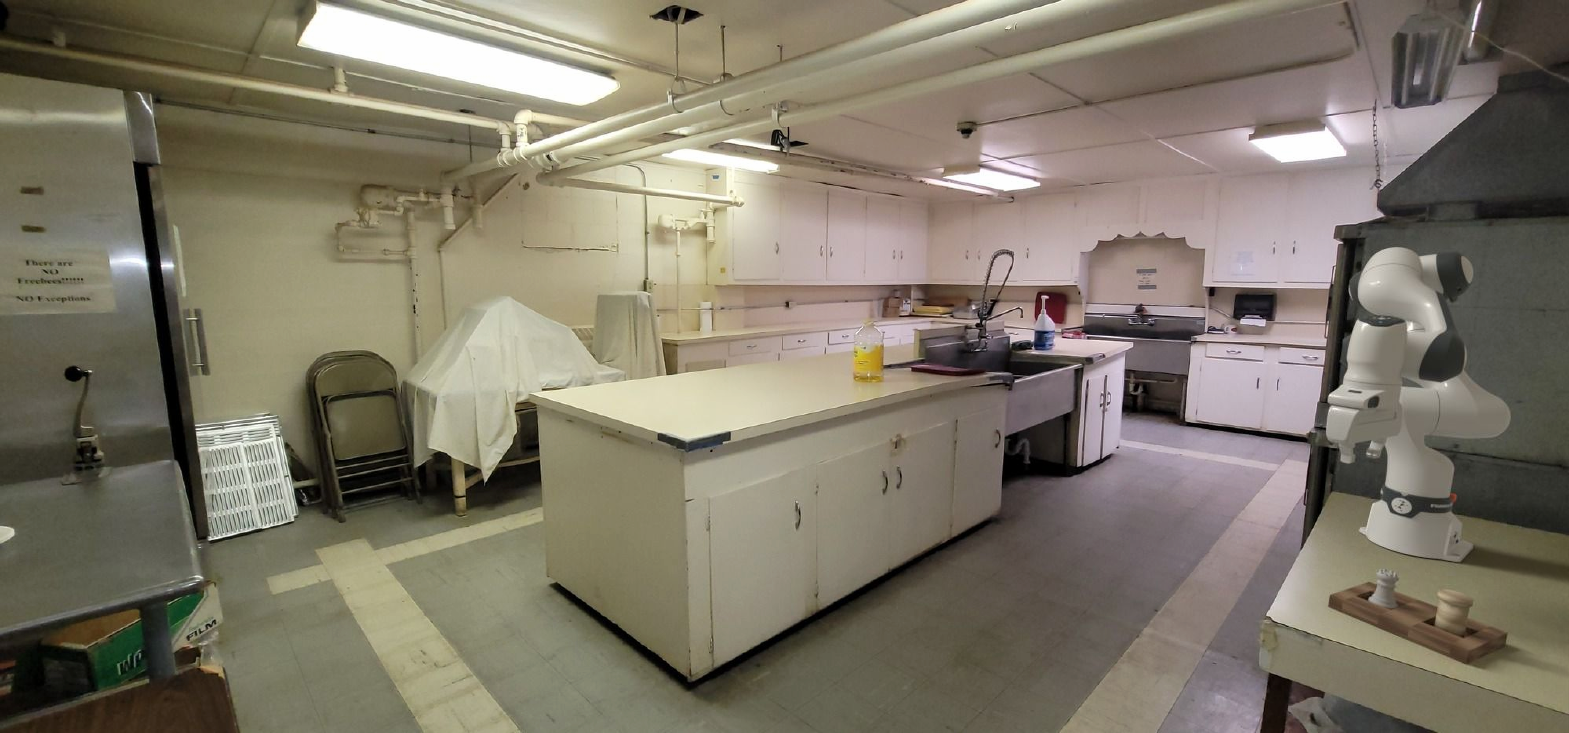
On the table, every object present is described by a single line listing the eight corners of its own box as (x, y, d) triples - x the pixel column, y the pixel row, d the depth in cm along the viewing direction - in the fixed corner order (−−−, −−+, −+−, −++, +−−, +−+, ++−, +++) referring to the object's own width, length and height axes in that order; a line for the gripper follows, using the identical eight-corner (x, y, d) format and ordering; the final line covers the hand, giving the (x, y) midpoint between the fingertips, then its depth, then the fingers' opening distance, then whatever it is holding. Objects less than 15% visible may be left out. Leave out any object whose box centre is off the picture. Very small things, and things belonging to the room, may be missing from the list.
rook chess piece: (1369, 612, 122) (1375, 573, 121) (1364, 601, 126) (1370, 564, 125) (1400, 618, 120) (1407, 579, 119) (1394, 608, 124) (1400, 570, 122)
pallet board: (1367, 592, 131) (1373, 554, 129) (1505, 645, 112) (1514, 601, 111) (1328, 606, 125) (1334, 566, 124) (1466, 664, 107) (1475, 617, 106)
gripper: (1378, 389, 136) (1369, 450, 138) (1323, 395, 128) (1314, 461, 130) (1416, 394, 130) (1406, 458, 133) (1361, 401, 123) (1350, 470, 125)
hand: (1360, 460), depth 131 cm, fingers open, 8 cm apart
